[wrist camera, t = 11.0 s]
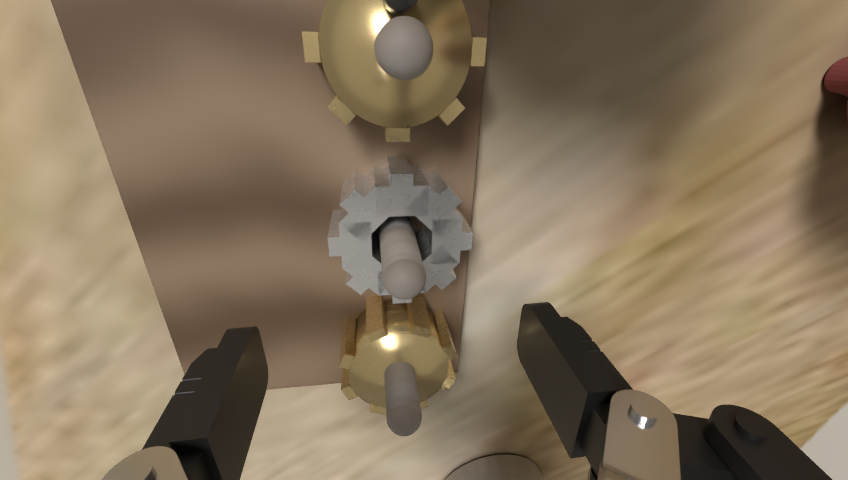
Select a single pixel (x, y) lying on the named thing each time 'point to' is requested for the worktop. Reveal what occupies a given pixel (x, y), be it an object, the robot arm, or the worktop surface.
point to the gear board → (261, 172)
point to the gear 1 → (370, 85)
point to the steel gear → (398, 196)
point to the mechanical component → (838, 79)
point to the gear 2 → (395, 349)
